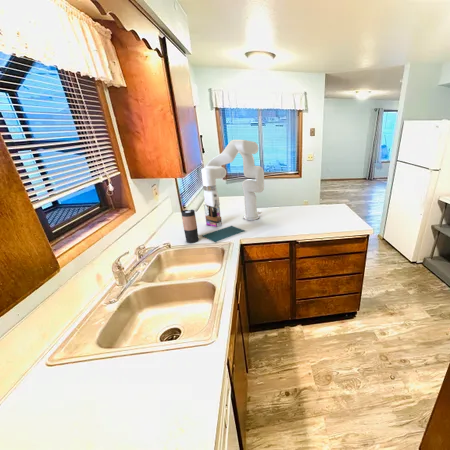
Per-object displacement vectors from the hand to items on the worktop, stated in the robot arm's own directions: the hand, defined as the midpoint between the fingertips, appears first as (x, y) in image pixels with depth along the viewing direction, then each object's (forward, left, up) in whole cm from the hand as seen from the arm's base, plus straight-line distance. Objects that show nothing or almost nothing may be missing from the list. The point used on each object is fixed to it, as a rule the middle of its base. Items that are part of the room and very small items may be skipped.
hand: (213, 215), depth 154 cm
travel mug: (+13, -6, -15) cm, 21 cm away
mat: (-7, 0, -15) cm, 16 cm away
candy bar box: (-12, -20, -15) cm, 28 cm away
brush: (0, 0, -4) cm, 4 cm away
